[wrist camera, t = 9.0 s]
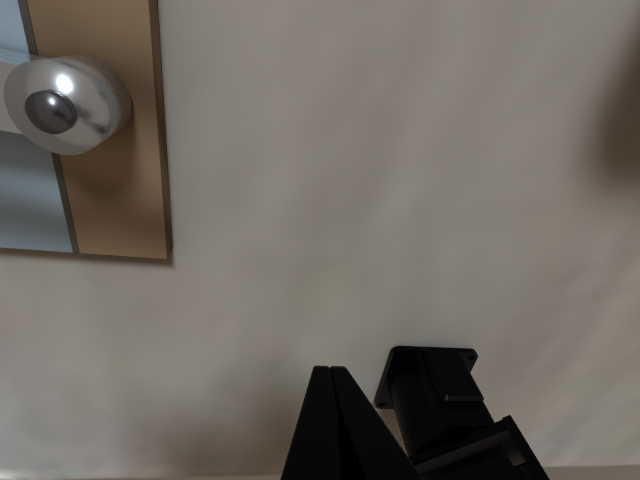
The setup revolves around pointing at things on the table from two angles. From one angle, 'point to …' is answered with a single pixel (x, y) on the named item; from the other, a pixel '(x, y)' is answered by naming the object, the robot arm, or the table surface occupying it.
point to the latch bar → (61, 100)
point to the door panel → (106, 158)
